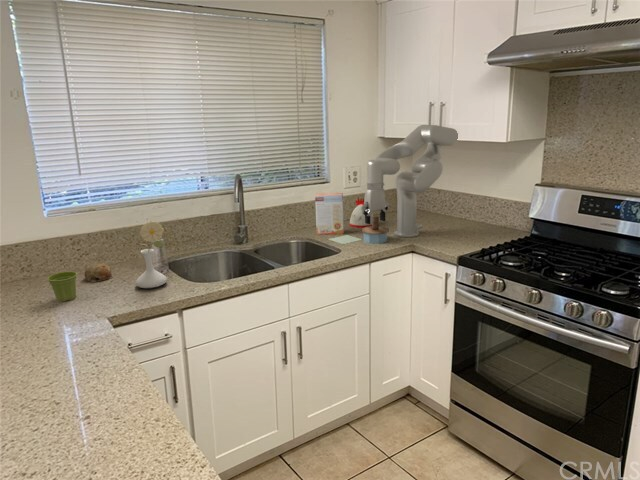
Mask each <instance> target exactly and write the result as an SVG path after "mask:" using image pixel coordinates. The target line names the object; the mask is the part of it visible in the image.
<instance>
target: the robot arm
mask: <svg viewBox="0 0 640 480" xmlns="http://www.w3.org/2000/svg"><path fill="white" fill-rule="evenodd" d="M457 132H458V131H457V129H456V128H453V127H452V128H451V127H448V126H446V127H445V126H442V125H437V124H436V125H435V124H420V125H418V126H417V127H415V129H413V131H411V132H410V133H409V134H408V135H407V136H406V137H405V138H404V139H402V140H401V141H400V142H398V143H395V144H393V145H391V146H389V147H388V148H386V149H385V150H383V151H381V152H380V154H379V155H377V157H376V158H375V159H370V160H368V161H367V162H366V166H367V167H366V172H367V173H366V177H367V178H366V179H367V180H366V184H367V185H366V188H367V189H365V193H364V198H363V199H364V205H363V206H362V207H361V210H362V213H363V214H364V215H365V223H366V224H370V216H369V215H370V213H371V211H372V212H376V211H380V212H379V221H382V222H386V214H387V211H388V210H389V206H390V202H388V201H387V200H386V192H385V188H384V186H385V183H384V175H389V176H390V175H391V176H393V175H396V174H397V173H398V172H399V171H400V170H401V163H400V162H399V161H398V160H401V159H404V158H408V157H411V156H413V155H415V154H416V152H418V151H419V150H420V149H421V148H422V147H423V146H424V145H425V144H427V147H426V150H425V151H424V152H423V153H422V154H421V155H420V156H418V158H417V159H416V160H415V161H414V162H413V164H412V165H411V167H410V168H411V171H408V170H407V171H401V172H400V173H398V175H396V178H395V188H396V196H397V197H396V198H397V200H396V201H397V202H396V203H397V204H396V205H397V207H396V208H397V210H396V213H397V214H396V215H397V216H396V230H394V231H393V235H394V236H396V237H400V238H414V237H417V236H419V235H420V232H419V229H423V224H417V211H418V210H417V208H418V199H417V194H423V193H425V192H426V191H428V190H429V189H430V188H431V187H432V185H433V184H435V182H436V181H437V180H439V178H440V177H441V175H442V173H443V169H444V166H443V163H442V161H440V160H441V159H442V149H441V148H442V147H441V146H443V147H444V146H445V147H453V146H455V145H456V144H457V143H458V142H459V140H457V139H458V134H459V132H458V133H457ZM365 210H366V211H365ZM367 212H368V213H367Z"/></svg>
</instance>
